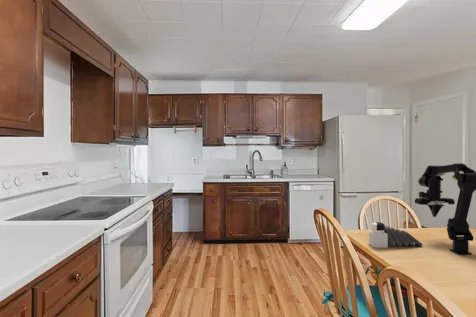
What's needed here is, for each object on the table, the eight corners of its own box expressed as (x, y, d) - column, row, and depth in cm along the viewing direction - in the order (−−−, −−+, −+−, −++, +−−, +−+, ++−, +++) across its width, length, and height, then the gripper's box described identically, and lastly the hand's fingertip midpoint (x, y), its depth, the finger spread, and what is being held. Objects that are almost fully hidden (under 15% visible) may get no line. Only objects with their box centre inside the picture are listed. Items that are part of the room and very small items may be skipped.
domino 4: (415, 244, 161) (401, 231, 161) (413, 246, 161) (399, 233, 161) (410, 241, 166) (396, 228, 166) (408, 244, 166) (394, 231, 166)
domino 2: (402, 245, 161) (392, 228, 161) (399, 247, 161) (389, 230, 161) (397, 242, 166) (387, 226, 166) (394, 244, 166) (385, 227, 166)
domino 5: (422, 244, 161) (407, 232, 161) (420, 246, 161) (405, 234, 161) (417, 241, 166) (402, 230, 166) (415, 243, 166) (400, 232, 166)
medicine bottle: (382, 243, 167) (382, 221, 166) (387, 248, 160) (387, 224, 159) (368, 243, 167) (368, 221, 167) (373, 247, 160) (373, 224, 160)
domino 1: (394, 246, 161) (389, 227, 161) (391, 247, 161) (386, 228, 161) (390, 243, 166) (384, 225, 166) (387, 244, 166) (381, 226, 166)
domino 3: (408, 245, 161) (396, 230, 161) (406, 247, 161) (394, 231, 161) (403, 242, 166) (392, 227, 166) (401, 244, 166) (389, 229, 166)
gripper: (441, 186, 179) (441, 213, 180) (409, 186, 179) (409, 214, 179) (455, 188, 168) (455, 218, 168) (420, 189, 168) (420, 218, 168)
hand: (434, 216), depth 171 cm, fingers closed
